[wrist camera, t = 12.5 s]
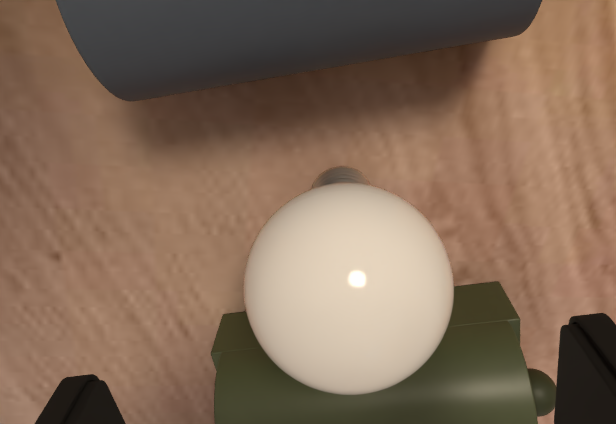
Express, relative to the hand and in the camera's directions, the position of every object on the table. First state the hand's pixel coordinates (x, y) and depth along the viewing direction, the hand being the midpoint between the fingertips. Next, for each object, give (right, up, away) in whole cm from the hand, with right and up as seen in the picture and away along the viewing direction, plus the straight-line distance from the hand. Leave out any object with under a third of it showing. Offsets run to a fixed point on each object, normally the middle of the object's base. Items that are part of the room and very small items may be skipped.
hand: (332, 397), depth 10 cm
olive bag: (+2, -3, +16) cm, 17 cm away
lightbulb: (+1, +5, +12) cm, 13 cm away
